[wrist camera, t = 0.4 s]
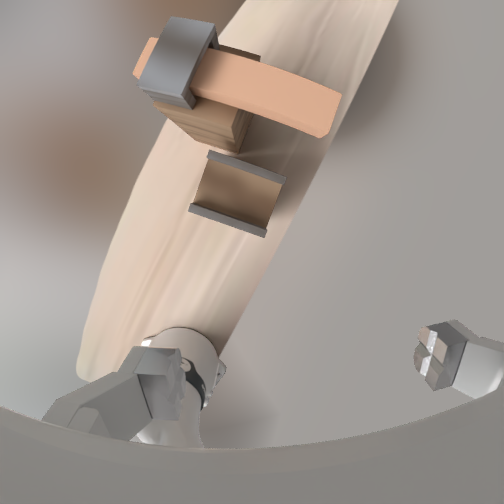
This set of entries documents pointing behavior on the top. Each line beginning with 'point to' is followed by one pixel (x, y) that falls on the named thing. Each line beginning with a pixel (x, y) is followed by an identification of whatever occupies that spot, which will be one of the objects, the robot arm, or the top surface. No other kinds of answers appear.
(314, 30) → the top surface
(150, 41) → the slat
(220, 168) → the post
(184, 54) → the tall post
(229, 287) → the top surface
